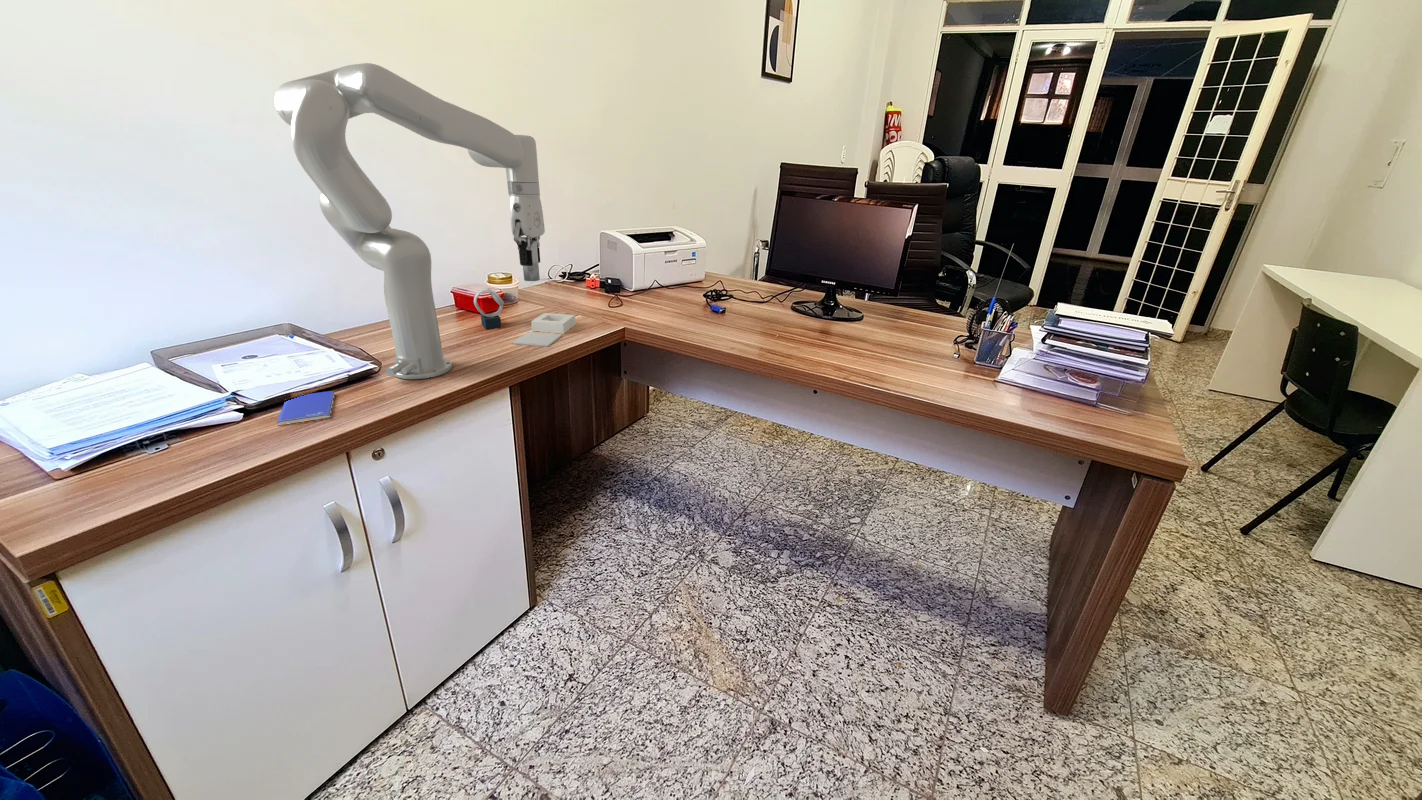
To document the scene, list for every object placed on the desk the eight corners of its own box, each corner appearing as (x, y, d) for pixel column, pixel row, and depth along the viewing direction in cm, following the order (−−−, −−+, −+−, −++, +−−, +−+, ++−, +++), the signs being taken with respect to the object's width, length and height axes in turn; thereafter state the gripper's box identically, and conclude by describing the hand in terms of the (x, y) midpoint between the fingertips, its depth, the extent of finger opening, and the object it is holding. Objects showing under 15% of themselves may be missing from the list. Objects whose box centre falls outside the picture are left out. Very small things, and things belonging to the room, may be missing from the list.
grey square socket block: (563, 333, 160) (563, 323, 158) (532, 331, 161) (531, 321, 159) (575, 324, 168) (574, 315, 167) (545, 322, 169) (544, 312, 168)
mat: (547, 346, 148) (547, 345, 148) (512, 344, 150) (512, 342, 149) (561, 336, 158) (561, 334, 157) (528, 333, 159) (528, 332, 158)
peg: (536, 281, 145) (532, 242, 141) (521, 280, 145) (517, 241, 141) (542, 278, 148) (539, 240, 144) (528, 277, 149) (524, 239, 145)
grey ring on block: (508, 327, 164) (504, 290, 159) (479, 330, 159) (474, 292, 155) (503, 322, 168) (499, 286, 163) (475, 325, 164) (470, 288, 159)
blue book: (328, 413, 105) (333, 390, 115) (276, 421, 102) (285, 396, 111) (330, 421, 106) (335, 397, 116) (278, 428, 102) (287, 403, 112)
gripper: (523, 192, 130) (530, 270, 137) (551, 188, 145) (556, 259, 152) (493, 190, 130) (501, 268, 138) (524, 187, 146) (530, 258, 153)
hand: (530, 263), depth 145 cm, fingers closed on peg, 4 cm apart
